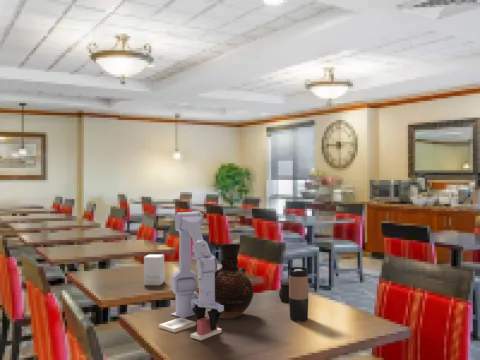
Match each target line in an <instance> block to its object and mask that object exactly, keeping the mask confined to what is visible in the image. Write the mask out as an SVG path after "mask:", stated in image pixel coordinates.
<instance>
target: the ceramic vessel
mask: <svg viewBox="0 0 480 360" xmlns="http://www.w3.org/2000/svg"><path fill="white" fill-rule="evenodd" d="M220 249H221V253H222V258H221V260H220V265H221V267H220V268H219V269H218V268H217V271H216V272H214V273H215V302H217V303H218V304H220V305H223V306H224V311H222V313H221V315H220V317H219V319H225V320H226V319H227V320H228V319H235V318H238V317H240V316H241V315H243V313H244V312H245V311H246V310H247V309H248V308H249V306H250V305H251V303H252V301H253V297H254V287H253V284H252V282H251V280H250V278H249V277H248V275H247V274H246V268H245V267H244V266H242V267H238V265H239V259H238V256H239V251H240V249H241V244H239V243H221V244H220ZM211 310H212V309H210V311H211Z"/></svg>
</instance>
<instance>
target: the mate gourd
mask: <svg viewBox="0 0 480 360" xmlns="http://www.w3.org/2000/svg"><path fill="white" fill-rule="evenodd" d="M278 281H280V288H279V292H278V298H279V299H280V300H281V301H282V302H287V303H289V281H284V282H283V281H282V280H281V279H280V278H278Z"/></svg>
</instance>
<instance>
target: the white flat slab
mask: <svg viewBox="0 0 480 360" xmlns="http://www.w3.org/2000/svg"><path fill="white" fill-rule="evenodd" d="M195 326H197V321H193V320H189V319H187V318H181V317H178V318H175V319H172V320H169V321H166V322H162V323H159V324H158V328H159V329H162V330H164V331H168V332H172V333H178V332H181V331H183V330H186V329H189V328H193V327H195Z"/></svg>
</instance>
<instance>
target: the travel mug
mask: <svg viewBox="0 0 480 360" xmlns="http://www.w3.org/2000/svg"><path fill="white" fill-rule="evenodd" d="M288 270H289V271H288V274H289V275H288V282H289V302H288V303H289V305H288V306H289V318H290V320H291V321H294V322H306V321H308V319H309V317H308V316H309V269H308V268H307V267H302V266H301V267H300V266H296V267H295V266H293V267H289V269H288Z"/></svg>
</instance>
